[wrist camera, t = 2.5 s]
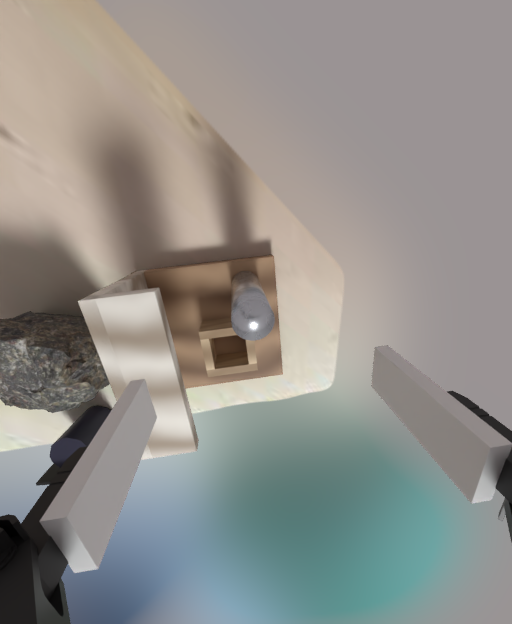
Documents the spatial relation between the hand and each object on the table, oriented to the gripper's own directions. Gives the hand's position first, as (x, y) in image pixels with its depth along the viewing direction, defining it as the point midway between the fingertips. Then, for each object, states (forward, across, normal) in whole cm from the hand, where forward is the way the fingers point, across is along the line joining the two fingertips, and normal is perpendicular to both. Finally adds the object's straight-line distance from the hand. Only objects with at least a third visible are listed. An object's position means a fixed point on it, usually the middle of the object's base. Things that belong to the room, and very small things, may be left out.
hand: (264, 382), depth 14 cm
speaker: (+25, -29, -21) cm, 44 cm away
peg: (+23, 0, 0) cm, 23 cm away
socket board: (+25, -5, -6) cm, 26 cm away
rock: (+25, -28, -7) cm, 38 cm away
